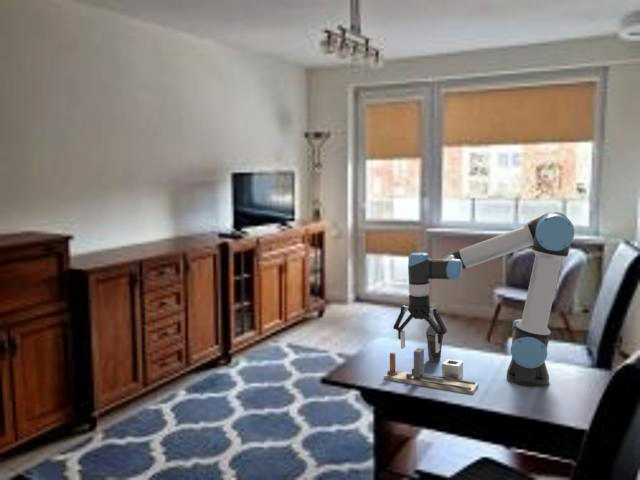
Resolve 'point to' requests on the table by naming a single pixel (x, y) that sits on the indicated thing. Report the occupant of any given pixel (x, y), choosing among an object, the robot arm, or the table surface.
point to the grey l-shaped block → (421, 366)
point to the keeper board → (429, 380)
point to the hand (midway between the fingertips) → (420, 349)
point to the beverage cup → (433, 345)
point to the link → (452, 369)
